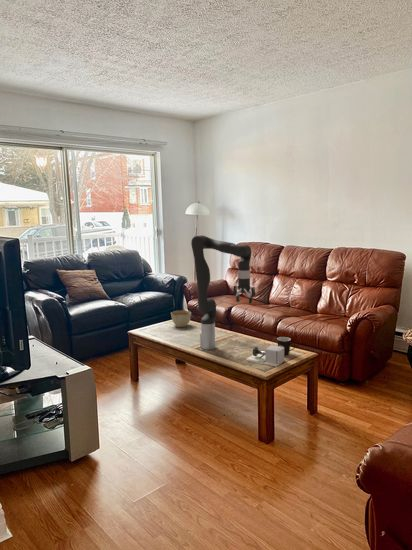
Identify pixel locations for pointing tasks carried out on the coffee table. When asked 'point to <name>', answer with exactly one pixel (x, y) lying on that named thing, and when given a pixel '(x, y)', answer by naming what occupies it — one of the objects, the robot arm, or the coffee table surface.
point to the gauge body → (269, 356)
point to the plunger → (258, 352)
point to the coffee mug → (285, 344)
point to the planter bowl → (181, 318)
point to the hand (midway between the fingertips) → (244, 302)
